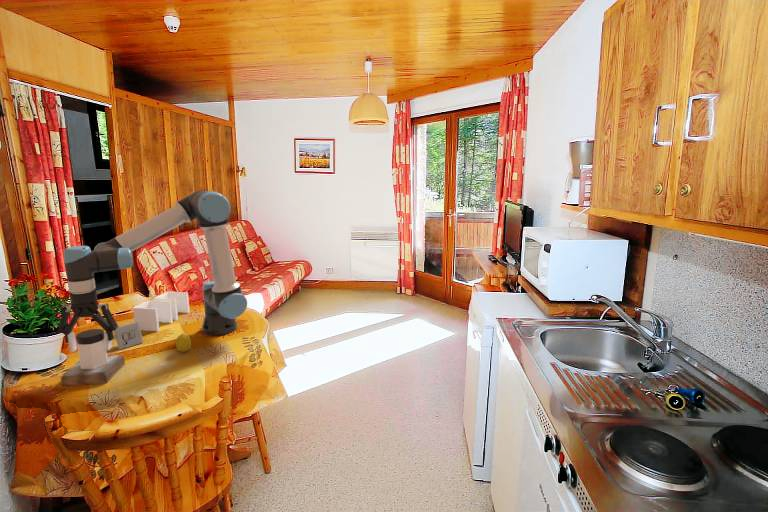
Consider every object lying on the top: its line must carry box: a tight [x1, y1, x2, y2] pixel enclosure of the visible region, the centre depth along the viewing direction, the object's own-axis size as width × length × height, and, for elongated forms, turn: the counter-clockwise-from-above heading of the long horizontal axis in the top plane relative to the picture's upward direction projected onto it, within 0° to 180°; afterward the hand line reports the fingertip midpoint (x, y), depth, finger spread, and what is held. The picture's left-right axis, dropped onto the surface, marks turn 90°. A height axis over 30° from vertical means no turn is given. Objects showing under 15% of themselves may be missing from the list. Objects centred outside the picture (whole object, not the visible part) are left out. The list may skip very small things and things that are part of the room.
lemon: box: [175, 333, 192, 353], centre depth 166 cm, size 6×6×8 cm
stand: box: [60, 354, 126, 387], centre depth 148 cm, size 14×14×4 cm
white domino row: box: [132, 290, 190, 332], centre depth 198 cm, size 25×11×11 cm, turn 173°
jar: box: [75, 328, 109, 369], centre depth 146 cm, size 9×8×12 cm
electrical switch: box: [113, 321, 144, 350], centre depth 172 cm, size 9×5×9 cm, turn 141°
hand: (91, 349), depth 146 cm, fingers open, 11 cm apart
